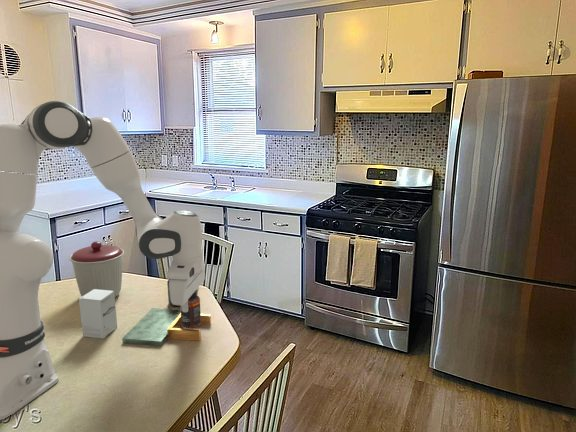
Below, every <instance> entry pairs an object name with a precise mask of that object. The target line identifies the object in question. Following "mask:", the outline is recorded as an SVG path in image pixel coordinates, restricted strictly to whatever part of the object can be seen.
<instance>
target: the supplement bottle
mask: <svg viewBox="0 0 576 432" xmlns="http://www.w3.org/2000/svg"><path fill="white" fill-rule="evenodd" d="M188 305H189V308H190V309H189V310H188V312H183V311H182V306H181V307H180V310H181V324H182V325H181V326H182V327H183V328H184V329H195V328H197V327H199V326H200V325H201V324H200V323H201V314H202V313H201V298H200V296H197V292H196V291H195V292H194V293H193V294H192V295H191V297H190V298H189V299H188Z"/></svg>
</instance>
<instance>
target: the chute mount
mask: <svg viewBox="0 0 576 432" xmlns="http://www.w3.org/2000/svg"><path fill="white" fill-rule="evenodd" d="M211 324H212V314H208V313H206V314H205V313H201V323H200V325H211ZM181 326H182V324H181V309H172V308H170V309H169V308H160V307H159V308H158V307H151V309H150V310H149V311H147V313H146V314H145V315H144V316H143V317H142V318H141V319H140V320H139V321H138V322H137V323H136V324H135V325H134V326H133V327H132V328H131V329H130V330H129V331H128V332H127V333H126V334H125V335H124V336H122V339H121V340H122V344H130V345H131V344H133V345H143V346H154V347H158V346H159V347H162V346H163V345H164V343H165V342H166V341H167V339H171V340H172V339H173V340H174V339H175V340H183V341H184V340H185V341H186V340H187V341H198V342H200V341H201V340H202V338H201V337H202V335H201V330H200V329H194V328H180V327H181Z"/></svg>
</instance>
